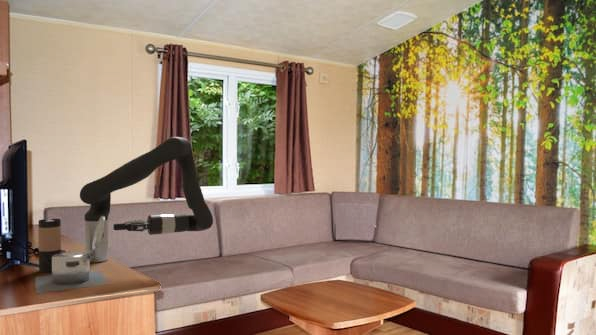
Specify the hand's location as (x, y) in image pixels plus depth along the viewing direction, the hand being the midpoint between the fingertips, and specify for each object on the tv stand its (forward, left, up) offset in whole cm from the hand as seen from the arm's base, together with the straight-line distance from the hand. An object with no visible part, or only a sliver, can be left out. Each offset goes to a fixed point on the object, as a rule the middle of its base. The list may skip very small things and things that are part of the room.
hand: (113, 227), depth 173 cm
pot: (0, -14, -18) cm, 23 cm away
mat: (0, -14, -19) cm, 23 cm away
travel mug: (-19, -20, -19) cm, 34 cm away
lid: (0, -6, -2) cm, 7 cm away
